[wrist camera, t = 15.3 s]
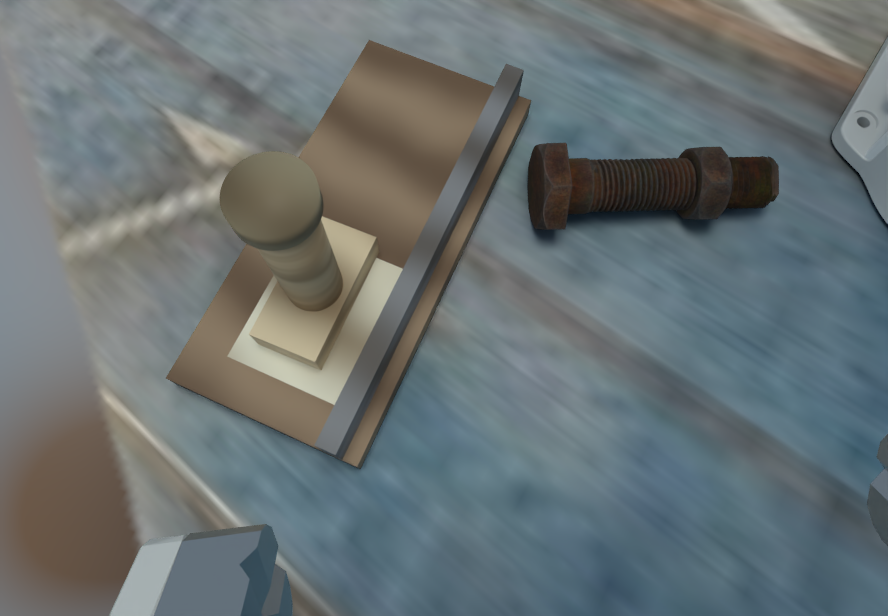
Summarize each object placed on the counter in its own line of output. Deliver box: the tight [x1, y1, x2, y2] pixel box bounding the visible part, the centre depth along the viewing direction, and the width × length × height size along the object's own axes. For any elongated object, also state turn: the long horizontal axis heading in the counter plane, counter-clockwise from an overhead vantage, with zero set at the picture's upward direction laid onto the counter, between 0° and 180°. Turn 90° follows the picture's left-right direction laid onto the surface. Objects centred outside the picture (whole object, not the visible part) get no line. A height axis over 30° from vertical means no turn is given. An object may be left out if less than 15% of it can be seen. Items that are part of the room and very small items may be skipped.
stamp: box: [220, 151, 379, 370], centre depth 31 cm, size 8×4×12 cm, turn 158°
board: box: [166, 40, 531, 469], centre depth 38 cm, size 26×12×4 cm, turn 156°
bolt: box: [528, 143, 779, 229], centre depth 39 cm, size 6×5×15 cm
